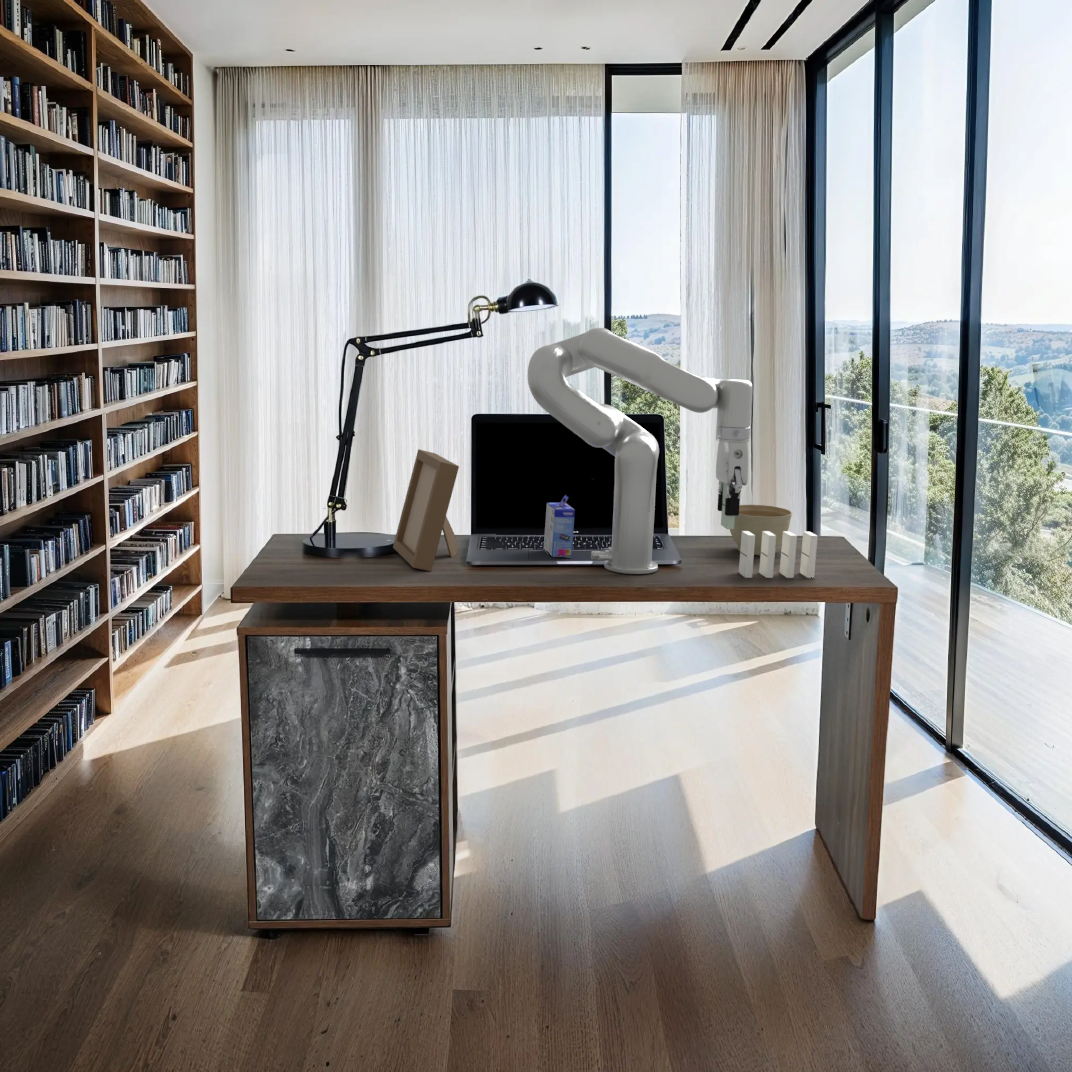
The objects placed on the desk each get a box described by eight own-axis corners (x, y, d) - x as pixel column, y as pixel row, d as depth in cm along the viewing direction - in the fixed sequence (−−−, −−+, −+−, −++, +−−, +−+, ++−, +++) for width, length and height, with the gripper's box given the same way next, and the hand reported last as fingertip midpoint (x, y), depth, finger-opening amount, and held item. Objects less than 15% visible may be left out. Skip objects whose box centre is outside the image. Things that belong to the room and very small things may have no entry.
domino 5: (807, 577, 265) (811, 535, 263) (799, 572, 270) (803, 531, 268) (814, 577, 265) (817, 535, 263) (806, 572, 270) (809, 531, 268)
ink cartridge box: (573, 558, 276) (576, 499, 273) (551, 558, 275) (553, 499, 272) (564, 549, 285) (567, 492, 282) (543, 549, 284) (545, 492, 281)
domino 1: (727, 524, 265) (730, 482, 263) (734, 529, 260) (736, 485, 258) (720, 524, 265) (723, 482, 263) (727, 529, 260) (729, 485, 258)
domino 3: (766, 577, 264) (769, 535, 262) (759, 572, 268) (762, 531, 266) (772, 577, 264) (776, 535, 262) (765, 572, 269) (768, 531, 267)
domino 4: (786, 577, 264) (790, 535, 262) (779, 572, 269) (782, 531, 267) (793, 577, 264) (797, 535, 262) (786, 572, 269) (789, 531, 267)
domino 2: (745, 577, 263) (748, 535, 261) (738, 572, 268) (741, 530, 266) (752, 577, 263) (755, 535, 261) (745, 572, 268) (748, 531, 266)
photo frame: (413, 571, 257) (416, 461, 252) (392, 551, 277) (395, 449, 272) (476, 569, 261) (480, 462, 257) (451, 549, 282) (455, 449, 277)
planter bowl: (712, 546, 295) (715, 505, 293) (764, 543, 302) (768, 503, 299) (747, 560, 281) (750, 517, 279) (801, 556, 287) (804, 514, 285)
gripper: (760, 439, 250) (755, 520, 254) (737, 430, 267) (732, 506, 270) (727, 438, 249) (723, 520, 253) (706, 429, 266) (702, 506, 269)
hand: (728, 512), depth 262 cm, fingers closed on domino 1, 4 cm apart
